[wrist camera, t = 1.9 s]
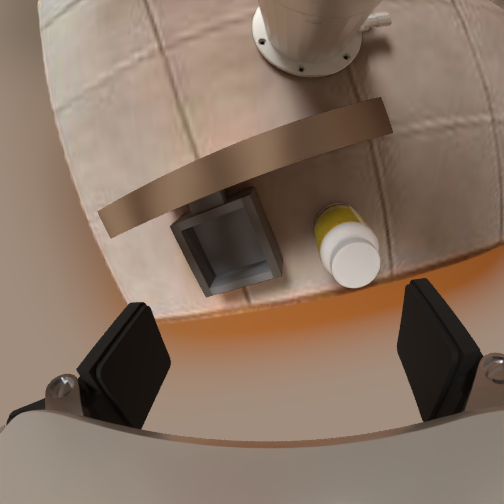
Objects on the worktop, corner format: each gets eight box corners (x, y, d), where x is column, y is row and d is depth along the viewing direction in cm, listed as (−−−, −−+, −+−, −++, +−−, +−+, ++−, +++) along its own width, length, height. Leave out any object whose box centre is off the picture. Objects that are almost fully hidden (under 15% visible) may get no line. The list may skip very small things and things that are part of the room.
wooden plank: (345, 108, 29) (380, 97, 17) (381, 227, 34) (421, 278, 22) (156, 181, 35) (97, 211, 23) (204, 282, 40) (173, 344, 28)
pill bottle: (305, 238, 36) (311, 282, 26) (325, 193, 33) (342, 222, 23) (347, 255, 36) (367, 303, 26) (369, 214, 34) (399, 249, 24)
